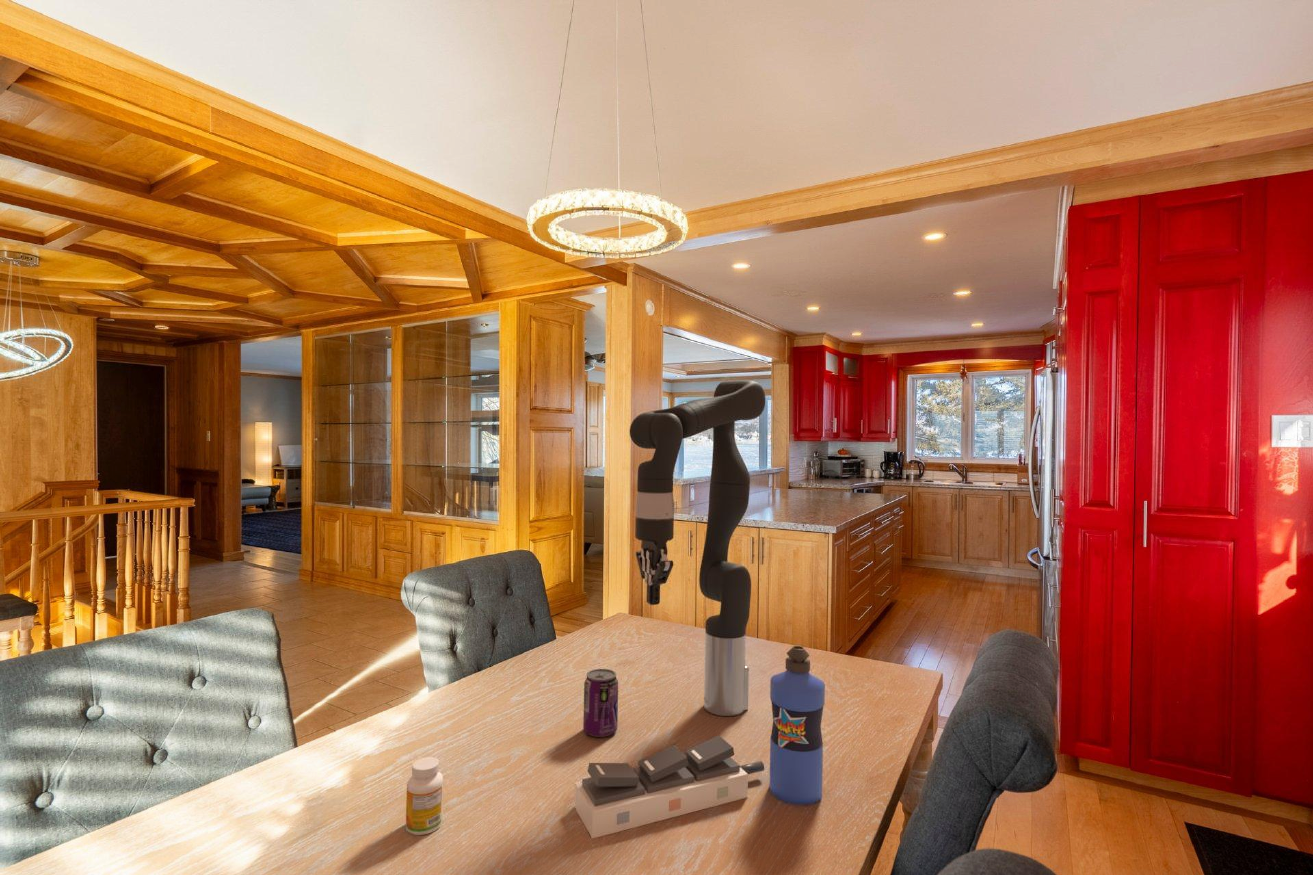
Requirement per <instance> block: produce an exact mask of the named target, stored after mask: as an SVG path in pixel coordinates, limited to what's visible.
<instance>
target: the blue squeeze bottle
mask: <svg viewBox="0 0 1313 875" xmlns="http://www.w3.org/2000/svg"><path fill="white" fill-rule="evenodd" d="M786 655H787V657H786V658H785V671H783V672H779V673H777V674H774V675H772V676H771V677H770V679H769V681H770V684H769V688H770V692H769V698H770V701H771V711H772V728H771V734H770V741H769V742H770V745H769V747H770V748H769V785H768V786H769V791H770V793H771V795H772V796H773V797H775V798H776V799H777V800H779V801H781V802H783V803H786V804H789V803H790V804H789V805H793V806H801V805H804V806H810V805H809V804H812V805H814V804H816V803H815V802H817V801H818V802H820V800H822V798H823V770H824V769H823V767H824V766H823V761H824V760H823V758H824V756H823V755H824V754H823V752H824V742H823V737H822V736H823V735H822V722H823V721H822V720H823V713H824V706H825V704H826V703H825V702H826V698H825V697H826V683H825V682H824V681H823V680H822V679H821V678H819V677H817V676H815V675H813V674H812V673H810V671H811V660H810V659H809V658H810V653H808V651H806V649H805V648H804V647H803V646H799V645H794V646H792V647H791V648H790V649H789V650H788V651H787V652H786ZM821 797H822V798H821ZM818 802H817V803H818ZM813 803H814V804H813Z"/></svg>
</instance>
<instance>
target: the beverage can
mask: <svg viewBox="0 0 1313 875" xmlns="http://www.w3.org/2000/svg"><path fill="white" fill-rule="evenodd" d="M583 683H584V684H583V685H584V687H583V721H582V722H583V723H582V725H583V726H582V728H583V731H584V733H586V734H587V735H590V736H592V737H595V738H604V737H608V736H610V735H612V734H614V733H616V732H617V731H618V721H619V720H618V715H619V713H618V712H619V681H618V679H617V672H616V671H614V670H612V669H608V668H595V669H592V670H589V671H588V672H586V678H585V680H584V682H583Z"/></svg>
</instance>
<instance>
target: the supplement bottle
mask: <svg viewBox="0 0 1313 875" xmlns="http://www.w3.org/2000/svg"><path fill="white" fill-rule="evenodd" d="M443 776H444V775H443V774H442V772H440V761H439V759H438V758H436V757H434V756H426V757H422V758H419V759H416V760H415V761H414V762H412V765H411V776H410V777H409V779H408V780H407V783H406V801H405V804H406V807H405V809H406V810H405V828H406V830H407V832H409V834H411V835H414V836H421V835H422V836H423V835H427V834H430V833H433V832H435V831H436V830H437V829H439V828H440V827H441V826H442V823H443V817H444V816H443V815H444V814H443V813H444V777H443Z"/></svg>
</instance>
